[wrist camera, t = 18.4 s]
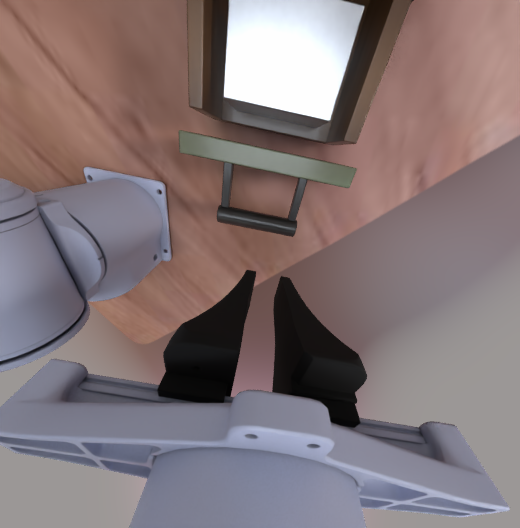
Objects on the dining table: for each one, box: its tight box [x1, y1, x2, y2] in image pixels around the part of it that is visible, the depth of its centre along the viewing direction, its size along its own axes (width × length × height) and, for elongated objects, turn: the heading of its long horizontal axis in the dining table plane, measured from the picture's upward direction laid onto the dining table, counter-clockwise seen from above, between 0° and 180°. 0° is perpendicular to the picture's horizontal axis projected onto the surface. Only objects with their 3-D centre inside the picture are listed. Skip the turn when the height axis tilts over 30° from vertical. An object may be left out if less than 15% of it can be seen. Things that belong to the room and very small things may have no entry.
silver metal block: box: [223, 0, 365, 128], centre depth 11 cm, size 6×4×4 cm
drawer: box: [179, 0, 412, 237], centre depth 12 cm, size 18×11×6 cm, turn 170°
